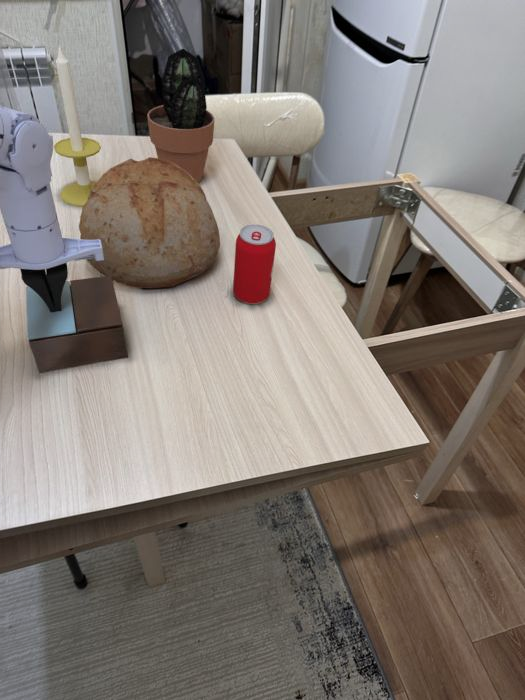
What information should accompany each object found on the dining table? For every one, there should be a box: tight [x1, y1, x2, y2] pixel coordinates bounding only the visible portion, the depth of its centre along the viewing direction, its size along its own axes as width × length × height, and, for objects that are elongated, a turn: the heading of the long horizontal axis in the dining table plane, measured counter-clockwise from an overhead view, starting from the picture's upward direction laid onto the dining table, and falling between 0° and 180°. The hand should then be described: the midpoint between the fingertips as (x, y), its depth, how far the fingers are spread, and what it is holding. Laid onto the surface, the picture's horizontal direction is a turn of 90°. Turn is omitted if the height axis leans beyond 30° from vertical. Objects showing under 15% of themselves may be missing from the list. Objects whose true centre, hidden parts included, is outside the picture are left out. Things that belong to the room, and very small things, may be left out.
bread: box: [78, 156, 221, 289], centre depth 83 cm, size 26×23×15 cm
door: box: [25, 280, 76, 341], centre depth 66 cm, size 6×11×1 cm, turn 20°
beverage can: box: [232, 223, 277, 305], centre depth 78 cm, size 6×6×12 cm
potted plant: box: [146, 48, 216, 184], centre depth 100 cm, size 14×14×25 cm
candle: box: [53, 43, 102, 207], centre depth 90 cm, size 10×10×27 cm
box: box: [28, 275, 129, 374], centre depth 69 cm, size 12×11×7 cm
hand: (55, 307), depth 66 cm, fingers closed, pressing on door
